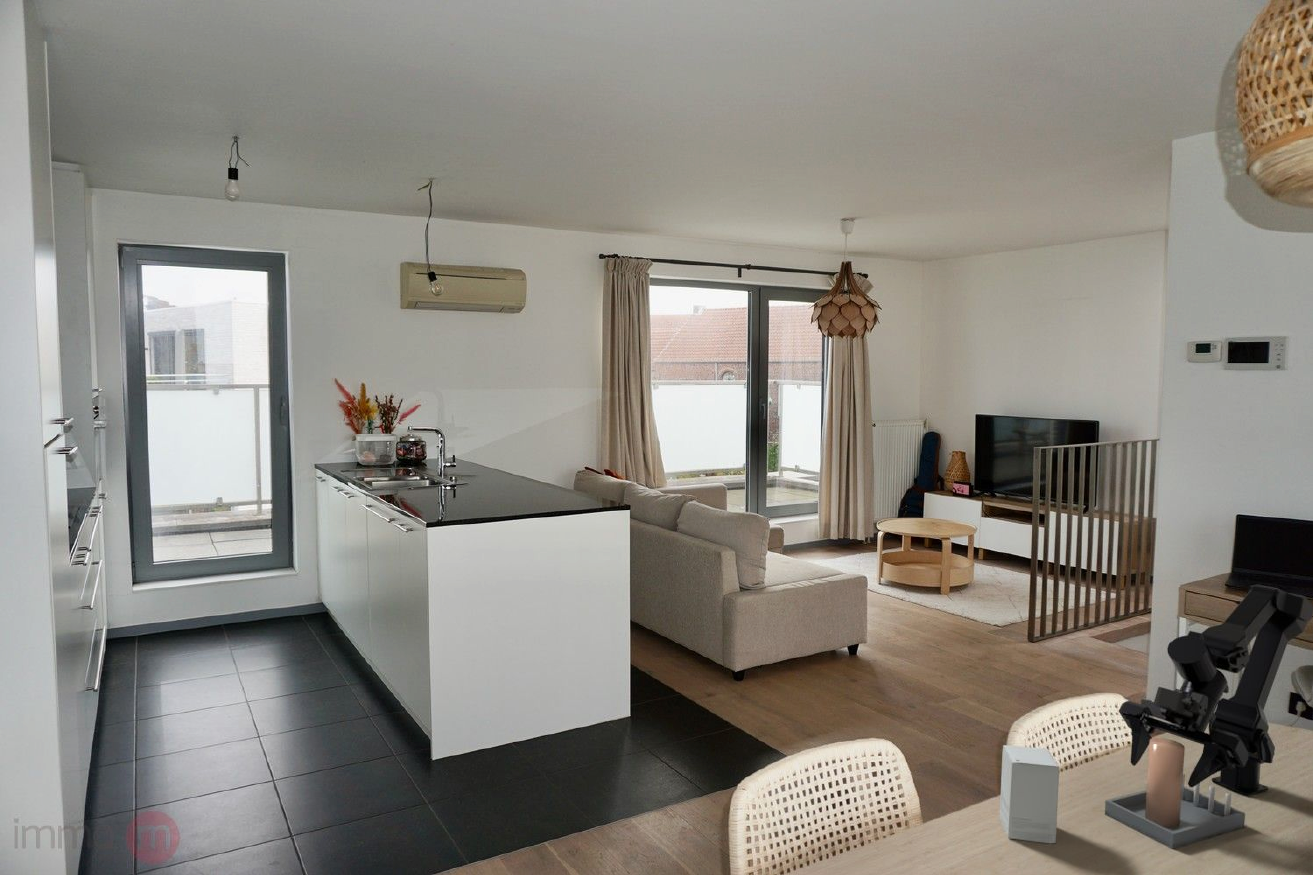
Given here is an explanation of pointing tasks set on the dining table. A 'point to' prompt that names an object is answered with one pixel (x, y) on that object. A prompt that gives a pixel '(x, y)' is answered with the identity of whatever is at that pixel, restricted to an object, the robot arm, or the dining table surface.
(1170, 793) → the peach pillar candle
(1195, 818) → the drying tray
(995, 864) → the dining table surface
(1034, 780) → the supplement box
